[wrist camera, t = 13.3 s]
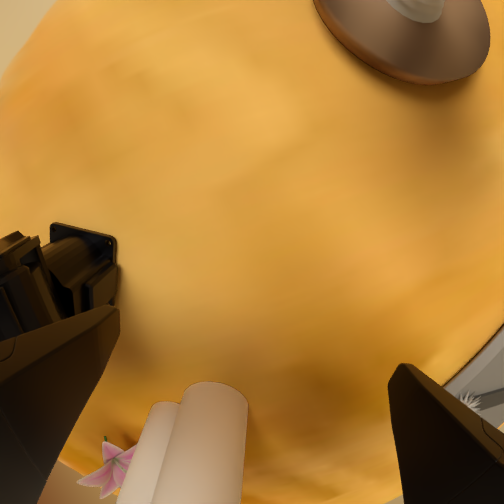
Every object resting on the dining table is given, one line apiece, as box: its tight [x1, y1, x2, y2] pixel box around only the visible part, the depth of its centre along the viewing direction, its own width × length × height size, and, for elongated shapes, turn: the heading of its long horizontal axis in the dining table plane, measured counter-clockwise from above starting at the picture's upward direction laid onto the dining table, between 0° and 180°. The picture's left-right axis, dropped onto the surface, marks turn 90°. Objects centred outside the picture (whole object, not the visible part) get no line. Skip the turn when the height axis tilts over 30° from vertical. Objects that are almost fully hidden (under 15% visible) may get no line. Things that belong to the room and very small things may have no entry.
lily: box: [77, 436, 138, 499], centre depth 28 cm, size 12×12×10 cm
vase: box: [116, 381, 248, 504], centre depth 18 cm, size 11×7×20 cm, turn 131°
